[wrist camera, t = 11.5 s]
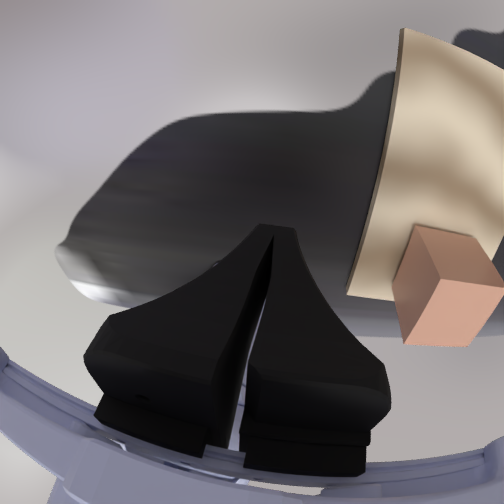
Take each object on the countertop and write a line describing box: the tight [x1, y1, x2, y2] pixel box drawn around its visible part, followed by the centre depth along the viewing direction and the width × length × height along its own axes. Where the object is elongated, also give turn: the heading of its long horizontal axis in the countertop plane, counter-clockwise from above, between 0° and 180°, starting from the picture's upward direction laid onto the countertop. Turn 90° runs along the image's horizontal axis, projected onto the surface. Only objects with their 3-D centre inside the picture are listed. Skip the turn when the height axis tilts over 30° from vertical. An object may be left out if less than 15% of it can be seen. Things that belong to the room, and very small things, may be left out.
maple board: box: [346, 28, 504, 301], centre depth 17 cm, size 20×12×1 cm, turn 177°
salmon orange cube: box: [391, 225, 504, 347], centre depth 17 cm, size 6×6×6 cm
